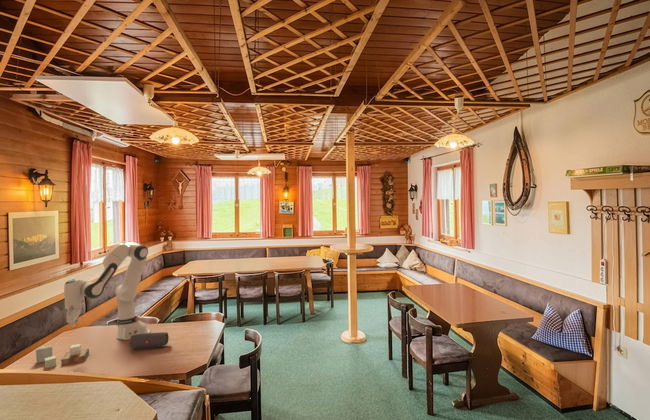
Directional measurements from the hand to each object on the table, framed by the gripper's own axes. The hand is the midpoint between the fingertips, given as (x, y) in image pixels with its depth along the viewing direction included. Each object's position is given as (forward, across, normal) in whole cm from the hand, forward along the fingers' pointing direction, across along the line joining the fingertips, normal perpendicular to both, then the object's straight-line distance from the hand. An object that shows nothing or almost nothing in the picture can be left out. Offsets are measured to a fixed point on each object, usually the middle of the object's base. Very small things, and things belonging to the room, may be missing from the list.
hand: (74, 325), depth 217 cm
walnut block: (+22, -3, 0) cm, 22 cm away
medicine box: (+22, +4, +18) cm, 28 cm away
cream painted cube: (+18, -2, 0) cm, 18 cm away
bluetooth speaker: (+22, -7, -43) cm, 49 cm away
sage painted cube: (+22, -7, +12) cm, 25 cm away
